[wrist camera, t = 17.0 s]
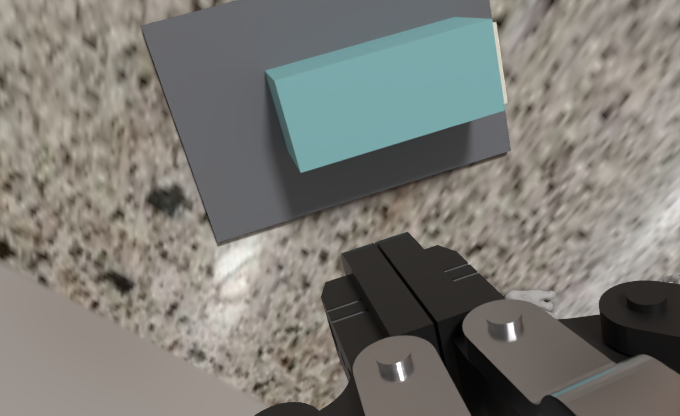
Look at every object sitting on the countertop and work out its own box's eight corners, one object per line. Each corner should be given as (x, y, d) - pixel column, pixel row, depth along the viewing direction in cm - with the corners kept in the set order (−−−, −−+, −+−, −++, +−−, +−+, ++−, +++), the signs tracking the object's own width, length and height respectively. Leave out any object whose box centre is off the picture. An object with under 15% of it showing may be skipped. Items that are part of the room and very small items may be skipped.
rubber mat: (217, 239, 34) (217, 242, 34) (141, 25, 30) (140, 26, 29) (507, 149, 36) (510, 150, 36) (476, -63, 32) (479, -64, 31)
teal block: (300, 172, 29) (510, 108, 30) (274, 80, 27) (497, 17, 28) (288, 151, 33) (472, 95, 34) (264, 70, 31) (459, 15, 32)
